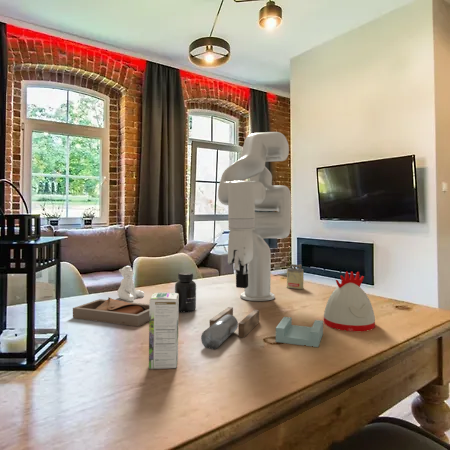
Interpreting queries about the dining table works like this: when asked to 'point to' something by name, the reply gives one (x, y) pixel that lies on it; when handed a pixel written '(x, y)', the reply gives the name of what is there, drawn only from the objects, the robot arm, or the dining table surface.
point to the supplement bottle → (186, 292)
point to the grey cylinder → (219, 332)
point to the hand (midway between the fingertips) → (242, 287)
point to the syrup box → (163, 330)
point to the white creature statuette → (128, 286)
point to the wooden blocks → (245, 324)
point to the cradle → (299, 333)
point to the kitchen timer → (349, 306)
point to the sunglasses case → (120, 307)
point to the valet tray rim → (110, 314)
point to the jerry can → (295, 277)
